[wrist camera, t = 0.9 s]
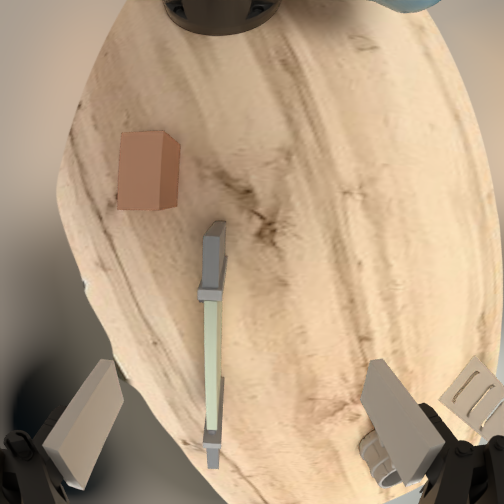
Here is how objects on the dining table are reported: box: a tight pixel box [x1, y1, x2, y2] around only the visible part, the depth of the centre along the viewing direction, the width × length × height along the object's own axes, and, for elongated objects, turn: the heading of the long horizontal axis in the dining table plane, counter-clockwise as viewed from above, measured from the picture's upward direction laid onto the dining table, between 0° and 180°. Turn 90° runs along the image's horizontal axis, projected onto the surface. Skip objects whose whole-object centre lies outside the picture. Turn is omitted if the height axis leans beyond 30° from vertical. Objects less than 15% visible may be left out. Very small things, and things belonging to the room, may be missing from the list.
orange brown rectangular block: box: [117, 131, 180, 210], centre depth 28 cm, size 7×4×8 cm, turn 177°
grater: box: [438, 355, 504, 442], centre depth 31 cm, size 10×10×20 cm
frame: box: [198, 221, 227, 469], centre depth 29 cm, size 26×2×12 cm, turn 177°
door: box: [199, 300, 222, 435], centre depth 30 cm, size 15×2×11 cm, turn 177°
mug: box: [359, 429, 403, 488], centre depth 35 cm, size 8×12×12 cm, turn 19°
